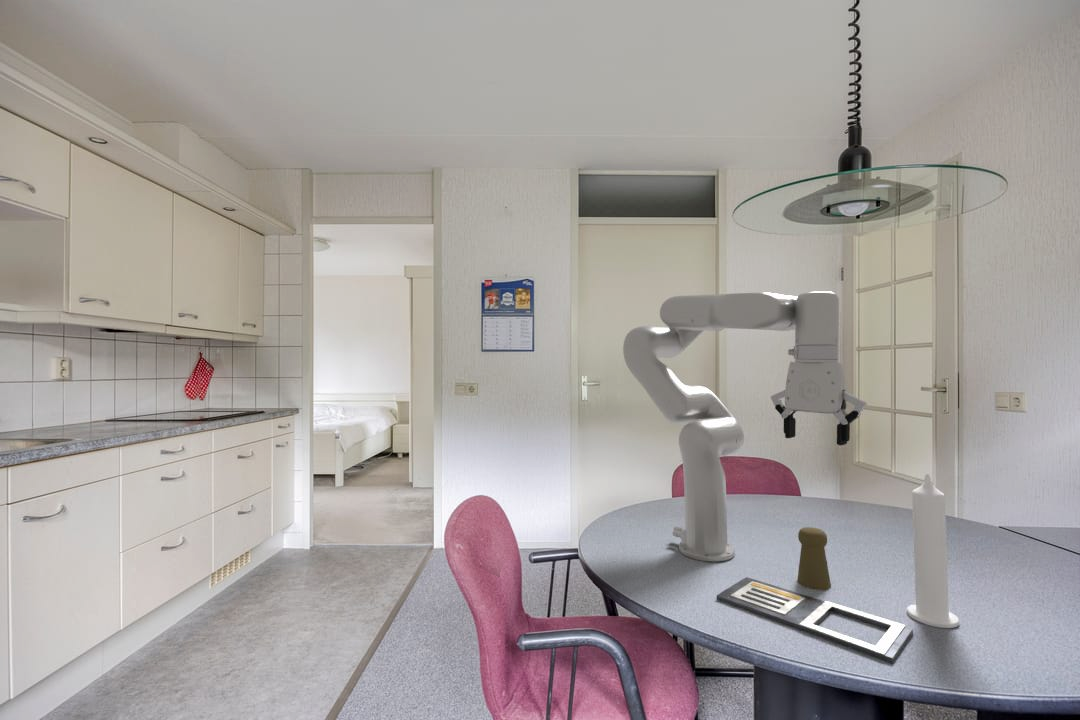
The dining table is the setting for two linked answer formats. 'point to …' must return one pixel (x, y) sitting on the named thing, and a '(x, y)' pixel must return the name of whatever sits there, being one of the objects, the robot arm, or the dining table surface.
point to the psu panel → (814, 616)
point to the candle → (930, 558)
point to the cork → (813, 559)
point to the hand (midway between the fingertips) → (815, 440)
